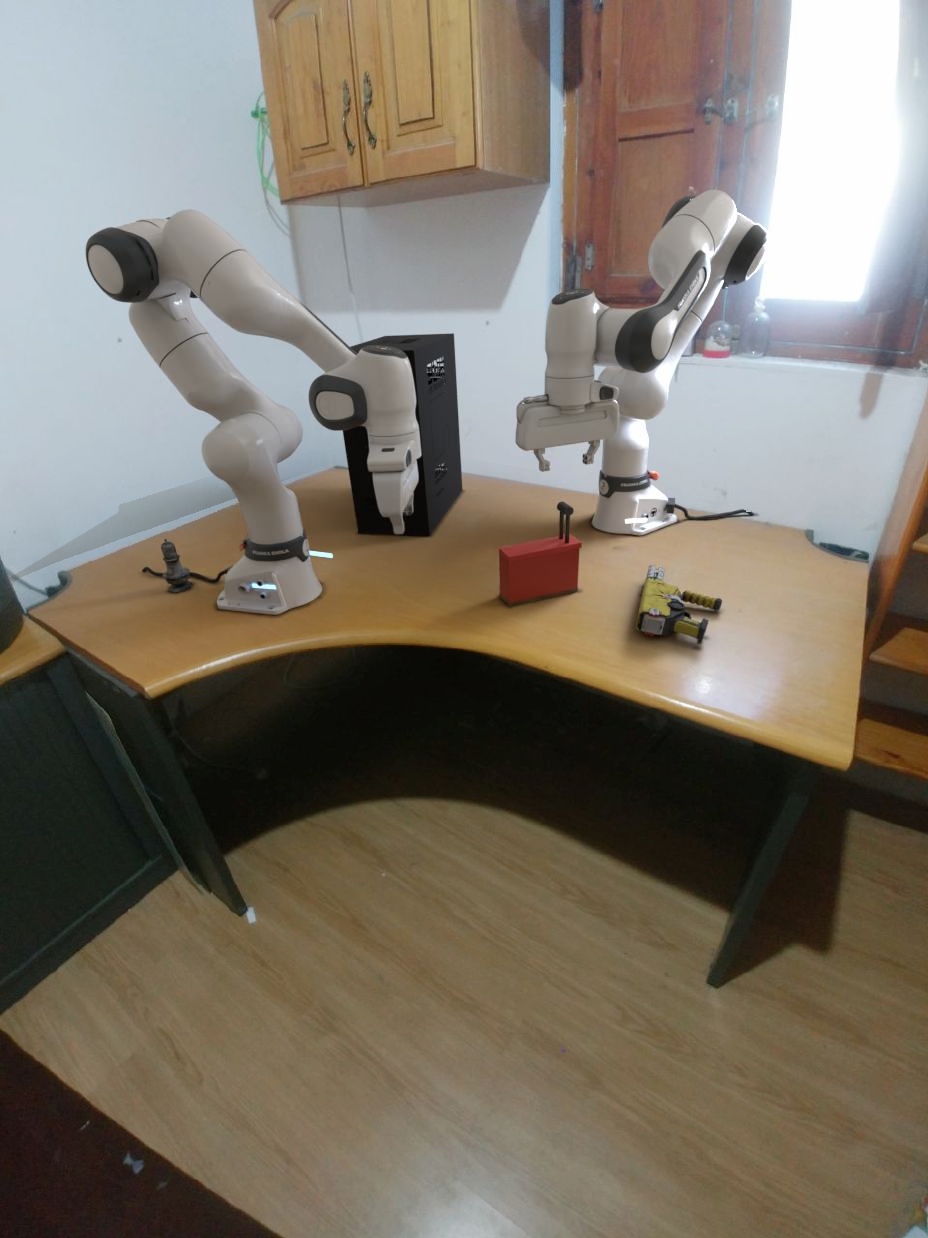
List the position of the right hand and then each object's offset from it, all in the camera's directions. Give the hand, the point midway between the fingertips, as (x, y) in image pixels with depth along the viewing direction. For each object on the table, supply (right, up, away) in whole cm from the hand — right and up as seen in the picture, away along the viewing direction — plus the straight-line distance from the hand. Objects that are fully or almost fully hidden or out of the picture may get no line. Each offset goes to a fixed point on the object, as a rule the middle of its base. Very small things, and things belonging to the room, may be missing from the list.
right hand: (566, 466), depth 116 cm
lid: (-4, -15, +7) cm, 17 cm away
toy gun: (+22, -28, +2) cm, 36 cm away
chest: (-4, -24, +12) cm, 27 cm away
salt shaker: (-85, -22, +23) cm, 91 cm away
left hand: (-31, -12, -5) cm, 33 cm away
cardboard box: (-34, +2, +60) cm, 70 cm away
